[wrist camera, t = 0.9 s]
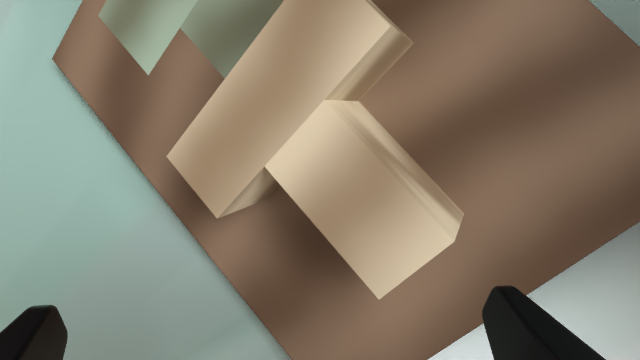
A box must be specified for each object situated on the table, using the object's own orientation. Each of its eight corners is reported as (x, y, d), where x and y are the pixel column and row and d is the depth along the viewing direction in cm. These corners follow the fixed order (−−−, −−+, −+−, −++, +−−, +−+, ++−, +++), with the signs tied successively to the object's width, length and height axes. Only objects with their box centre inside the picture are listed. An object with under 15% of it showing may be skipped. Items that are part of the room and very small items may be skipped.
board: (736, 145, 15) (752, 148, 14) (344, 405, 22) (338, 417, 21) (258, -289, 19) (246, -309, 18) (67, 60, 26) (51, 58, 25)
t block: (530, 160, 16) (539, 176, 13) (352, 302, 20) (320, 344, 16) (356, -15, 18) (319, -46, 14) (222, 148, 22) (166, 156, 18)
